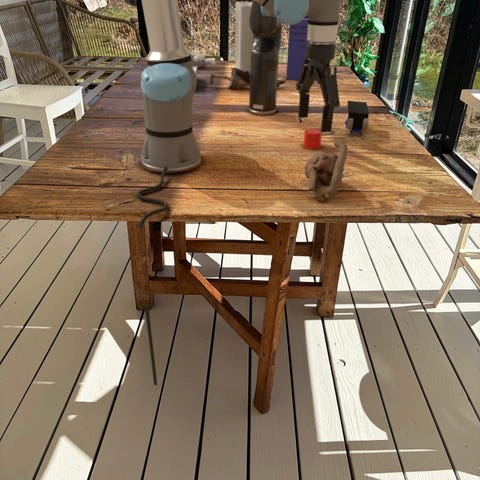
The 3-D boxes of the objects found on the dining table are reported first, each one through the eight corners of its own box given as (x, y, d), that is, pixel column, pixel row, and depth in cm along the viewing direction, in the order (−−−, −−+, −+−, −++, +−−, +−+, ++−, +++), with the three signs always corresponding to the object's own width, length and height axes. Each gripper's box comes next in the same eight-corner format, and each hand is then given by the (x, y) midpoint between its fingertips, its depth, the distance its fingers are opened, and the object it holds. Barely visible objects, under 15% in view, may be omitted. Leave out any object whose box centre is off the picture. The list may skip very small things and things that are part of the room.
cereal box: (326, 78, 209) (332, 18, 196) (327, 80, 205) (333, 19, 192) (286, 77, 210) (290, 17, 197) (286, 79, 206) (290, 18, 193)
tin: (311, 150, 132) (312, 135, 130) (299, 145, 136) (301, 130, 134) (323, 147, 135) (325, 132, 133) (312, 142, 138) (313, 127, 136)
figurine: (210, 87, 179) (288, 95, 182) (212, 65, 176) (291, 73, 180) (208, 84, 201) (278, 91, 205) (210, 64, 198) (280, 71, 202)
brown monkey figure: (321, 192, 118) (322, 208, 103) (296, 168, 117) (293, 181, 103) (359, 155, 113) (365, 166, 99) (333, 130, 112) (335, 137, 98)
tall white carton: (273, 76, 210) (276, 6, 196) (239, 77, 209) (240, 6, 194) (266, 67, 226) (268, 2, 212) (235, 67, 225) (235, 1, 210)
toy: (171, 74, 211) (170, 58, 208) (148, 64, 229) (146, 49, 225) (218, 68, 223) (218, 53, 219) (192, 59, 240) (192, 44, 237)
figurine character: (367, 142, 142) (363, 122, 154) (371, 118, 138) (367, 99, 149) (344, 141, 143) (342, 120, 155) (348, 117, 138) (346, 98, 150)
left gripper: (360, 49, 112) (349, 136, 123) (311, 34, 132) (305, 110, 143) (332, 51, 110) (323, 139, 121) (287, 35, 130) (283, 113, 141)
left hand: (314, 124), depth 132 cm, fingers open, 13 cm apart
